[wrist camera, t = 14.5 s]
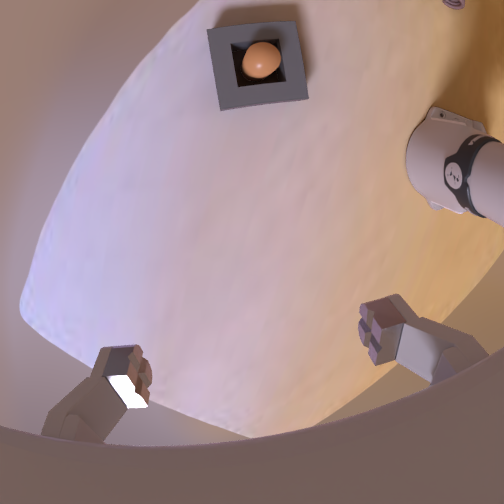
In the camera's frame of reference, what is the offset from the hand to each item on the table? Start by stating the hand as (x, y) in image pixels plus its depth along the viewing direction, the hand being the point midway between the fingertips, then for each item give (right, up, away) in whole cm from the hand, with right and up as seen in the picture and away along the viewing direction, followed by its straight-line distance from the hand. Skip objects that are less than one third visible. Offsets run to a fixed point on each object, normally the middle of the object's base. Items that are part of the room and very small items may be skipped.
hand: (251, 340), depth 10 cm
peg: (0, +28, +25) cm, 37 cm away
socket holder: (0, +28, +25) cm, 37 cm away
